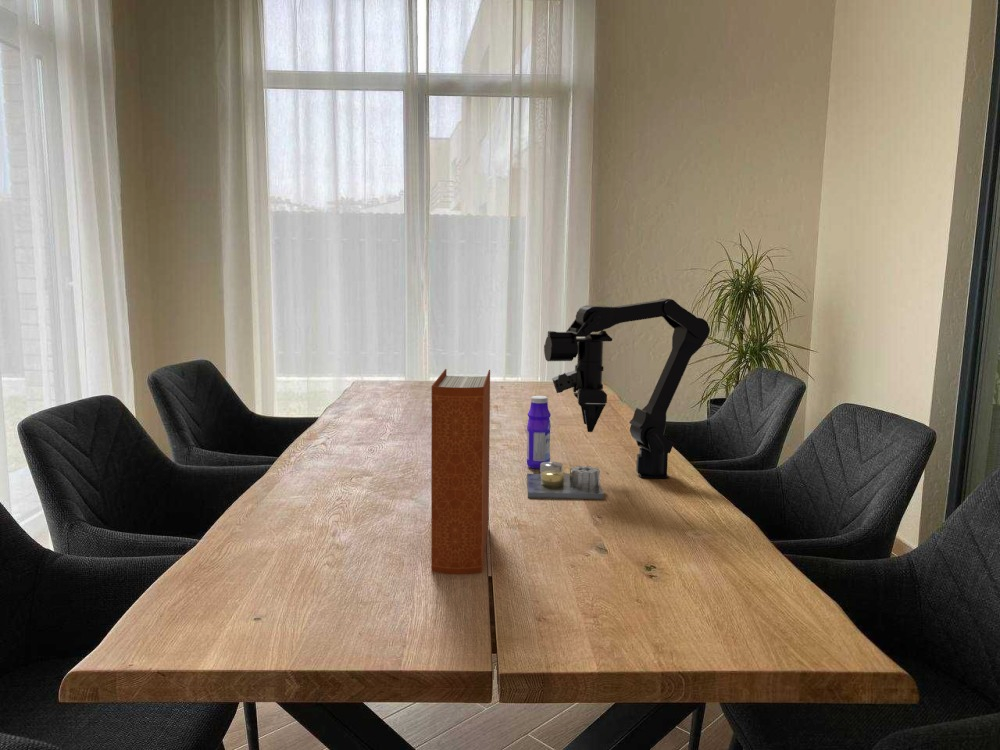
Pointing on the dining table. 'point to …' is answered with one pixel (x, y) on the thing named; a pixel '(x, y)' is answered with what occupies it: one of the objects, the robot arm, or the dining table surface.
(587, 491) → the plate
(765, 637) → the dining table surface
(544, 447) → the bottle
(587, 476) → the planet gear
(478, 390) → the book
